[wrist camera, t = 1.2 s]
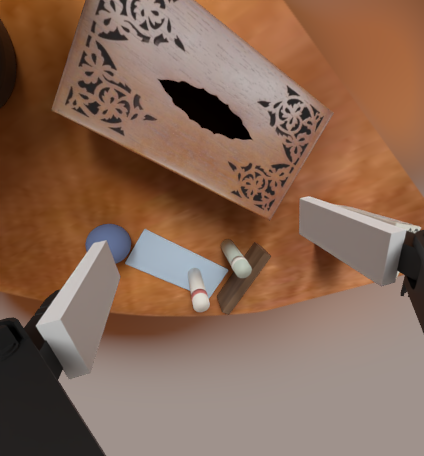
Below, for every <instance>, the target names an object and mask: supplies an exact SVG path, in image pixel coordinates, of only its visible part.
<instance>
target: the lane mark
mask: <svg viewBox="0 0 424 456" xmlns="http://www.w3.org/2000/svg"><path fill="white" fill-rule="evenodd" d="M125 264H127V265H129V266H132V267H134V268H136V269H139V270H141V271H144V272H146V273H148V274H151V275H153V276H156V277H158V278H160V279H163V280H165V281H168V282H170V283H172V284H175V285H177V286H180V287H182V288H185V289H187V290H189V291H190V286H189V280H188V271H189V270H190V269H191V268H198V269H199V270H200V272H201V275H202V279H203V282H204V286H205V289H206V292H207V295H208V298H210V296H211V295H212V294H213V292H214V291H215V289H216V288H217V286H218V285H219V283H220V282H221V280H222V279H223V278H224V276H225V275H226V273H227V272H228V269H226V268H224V267H222V266H220V265H218V264H216V263H214V262H212V261H210V260H208V259H206V258H204V257H202V256H200V255H198V254H196V253H194V252H192V251H189V250H187V249H185V248H183V247H181V246H179V245H177V244H175V243H173V242H171V241H169V240H167V239H165V238H163V237H161V236H159V235H157V234H155V233H153V232H151V231H148V230H146V229H144V231H143V232H142V234H141V236H140V238H139V239H138V241H137V243H136V245H135V246H134V248H133V250H132V252H131V253H130V255H129V257H128V259H127V260H126V262H125Z"/></svg>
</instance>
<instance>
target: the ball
mask: <svg viewBox="0 0 424 456" xmlns="http://www.w3.org/2000/svg"><path fill="white" fill-rule="evenodd" d="M105 240H107V243H108V245H109V248H110V251H111V253H112V256H113V259H114V261H115V264H116V263H119V262H120V261H122V260H123V259H124V258H125V257H126V256H127V255H128V253H129V251H130V248H131V239H130V236H129V234H128V233H127V232H126V230H124V229H123V228H122V227H120V226H118V225H115V224H104V225H100V226H98V227H96V228H95V229H93V230H92V231H91V232H90V234H89V235H88V237H87V240H86V251H87V252H88V250H89V249H90V247H91V246H92V245H93V243H96V242H101V241H105Z"/></svg>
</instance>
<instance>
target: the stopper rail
mask: <svg viewBox="0 0 424 456" xmlns="http://www.w3.org/2000/svg"><path fill="white" fill-rule="evenodd" d="M244 257H245V259H246V260H247V261H248V263H249V265H250V266H251V268H252V271H251V274H250V275H249V276H248V277H246V278H239V277H237V275H236V274H235V272H233V274H232V275H231V277H230V278H229V279H228V281H227V282H226V284H225V285H224V287H223V288H222V290H221V291H220V292H219V294H218V295H217V298H218V301H219V304H220V307H221V310H222V312H223V313H226V314H228V315H229V314H230V313H231V312H232V310H233V309H234V307H235V306H236V305H237V303H238V302H239V300H240V299H241V298H242V296H243V295H244V294H245V292H246V291H247V289H248V288H249V287H250V285H251V284H252V282H253V281H254V280H255V278H256V277H257V276H258V274H259V273H260V271H261V270H262V269H263V267H264V266H265V264H266V263H267V262H268V260H269V259H270V257H271V256H270V255H269V254H268V253H267V252H266V251H265V250H264V249H263V248H262V247H261V246H260V245H259V244H257V243H255V242H254V243H253V245H252V246H251V248H250V249H249V251H248V252H247V253H246V255H245V256H244Z"/></svg>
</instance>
